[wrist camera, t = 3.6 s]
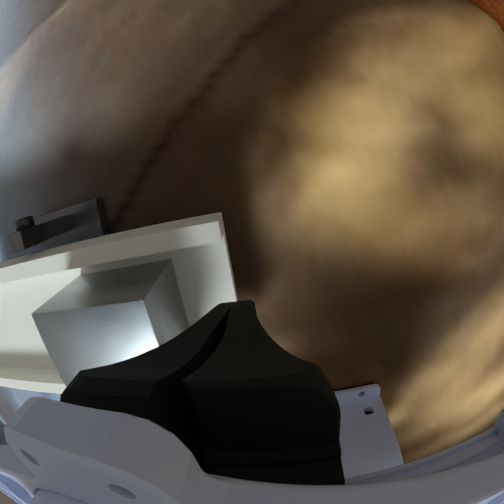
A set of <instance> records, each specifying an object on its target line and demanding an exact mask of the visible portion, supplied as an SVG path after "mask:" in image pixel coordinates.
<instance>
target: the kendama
mask: <svg viewBox="0 0 504 504" xmlns="http://www.w3.org/2000/svg"><path fill="white" fill-rule="evenodd" d="M469 1H470V2H472V3H473V4H475V5H476V6H477V7H479V8H480V9H482V10H483V11H484V12H486V13H487V14H488V15H490V16H491V17H492V18H493V19H495V20H496V21H497V22H498V23H499V25H500V27H501V29H502V31H503V32H504V5H503V2H502V0H469Z"/></svg>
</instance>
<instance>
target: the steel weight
mask: <svg viewBox="0 0 504 504" xmlns="http://www.w3.org/2000/svg"><path fill="white" fill-rule="evenodd" d="M31 315H32V317H33V320H34V322H35V324H36V327H37V329H38V331H39V334H40V336H41V338H42V340H43V343H44V345H45V347H46V349H47V351H48V353H49V355H50V357H51V359H52V361H53V363H54V365H55V367H56V369H57V371H58V373H59V375H60V377H61V378H62V380H63V382H64V384H65V386H66V387H67V386H68V385H69V383H70V382H71V381H72V380H73V379H74V377H75V376H76V375H77V373H78V372H79V371H80V370H85V369H91V368H96V367H101V366H106V365H110V364H114V363H117V362H121V361H124V360H127V359H130V358H133V357H136V356H138V355H141V354H143V353H145V352H147V351H150V350H152V349H154V348H156V347H158V346H160V345H162V344H164V343H166V342H168V341H169V340H171V339H173V338H174V337H176V336H177V335H179V334H180V333H182V332H183V331H185V330H186V329H187V328H189V323H188V320H187V316H186V313H185V309H184V305H183V302H182V298H181V294H180V290H179V286H178V282H177V278H176V274H175V270H174V266H173V262H172V259H167V260H162V261H156V262H150V263H145V264H139V265H134V266H128V267H122V268H117V269H111V270H106V271H100V272H95V273H89V274H84V275H80V276H79V277H77V278H76V279H75V280H73V281H72V282H71V283H69V284H68V285H67V286H65V287H64V288H63V289H62V290H60V291H59V292H58V293H56V294H55V295H54V296H53V297H51V298H50V299H49V300H48V301H46V302H45V303H44V304H43V305H41V306H40V307H39V308H38V309H37V310H35V311H34V312H33V313H32V314H31Z"/></svg>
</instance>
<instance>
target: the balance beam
mask: <svg viewBox="0 0 504 504" xmlns="http://www.w3.org/2000/svg"><path fill="white" fill-rule="evenodd" d="M167 259H172V262H173V266H174V270H175V274H176V278H177V282H178V286H179V290H180V294H181V298H182V302H183V305H184V309H185V313H186V316H187V320H188V323H189V327H190V326H191V325H193V324H194V323H196V322H197V321H198V320H199V319H200V318H202V317H203V316H204V315H205V314H207V313H208V312H209V311H210V310H211V309H213V308H214V307H215V306H217V305H218V304H220V303H226V302H235V301H238V297H237V292H236V287H235V282H234V277H233V272H232V266H231V261H230V256H229V250H228V245H227V240H226V234H225V229H224V223H223V218H222V212H218V213H213V214H207V215H202V216H197V217H191V218H186V219H181V220H176V221H171V222H166V223H161V224H156V225H151V226H146V227H141V228H137V229H132V230H127V231H123V232H118V233H114V234H109V235H105V236H101V237H96V238H92V239H88V240H83V241H79V242H75V243H71V244H67V245H63V246H59V247H55V248H51V249H47V250H43V251H39V252H36V253H32V254H28V255H24V256H21V257H17V258H13V259H10V260H6V261H3V262H0V386H3V387H9V388H16V389H22V390H30V391H38V392H47V393H58V394H62V392H63V391H64V390H65V388H66V386H65V384H64V382H63V380H62V378H61V377H60V375H59V373H58V371H57V369H56V367H55V365H54V363H53V361H52V359H51V357H50V355H49V353H48V351H47V349H46V347H45V345H44V343H43V340H42V338H41V336H40V334H39V331H38V329H37V327H36V324H35V322H34V320H33V317H32V315H31V314H32V313H33V312H34V311H35V310H37V309H38V308H39V307H40V306H41V305H43V304H44V303H45V302H46V301H48V300H49V299H50V298H51V297H53V296H54V295H55V294H56V293H58V292H59V291H60V290H62V289H63V288H64V287H65V286H67V285H68V284H69V283H71V282H72V281H73V280H75V279H76V278H77V277H79V276H80V275H84V274H89V273H95V272H100V271H106V270H111V269H117V268H122V267H128V266H134V265H139V264H145V263H150V262H156V261H162V260H167Z"/></svg>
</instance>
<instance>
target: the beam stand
mask: <svg viewBox="0 0 504 504" xmlns="http://www.w3.org/2000/svg"><path fill="white" fill-rule="evenodd" d="M34 219H35V224H36V225H35V224H34V220H33V215H32V216H28V217H25V218H22V219H19V220H17V221H14V222H15V226H16V231H17V232H15V233H12V234H10V235H9V239H10V243H11V247H12V251H13V252H17V251H21V250H25V249H27V248H29V247H31V246H34V245H36V244H38V243H40V244H41V248H42V251H43V250H47V249H51V248H55V247H59V246H63V245H67V244H71V243H75V242H79V241H83V240H88V239H92V238H96V237H101V236H105V235H109V234H110V231H109V227H108V222H107V218H106V213H105V209H104V204H103V199H102V197H100V198H96V199H93V200H89V201H86V202H82V203H79V204H76V205H73V206H69V207H66V208H63V209H60V210H57V211H54V212H51V213H48V214H45V215H42V216H39V217H36V218H34Z"/></svg>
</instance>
